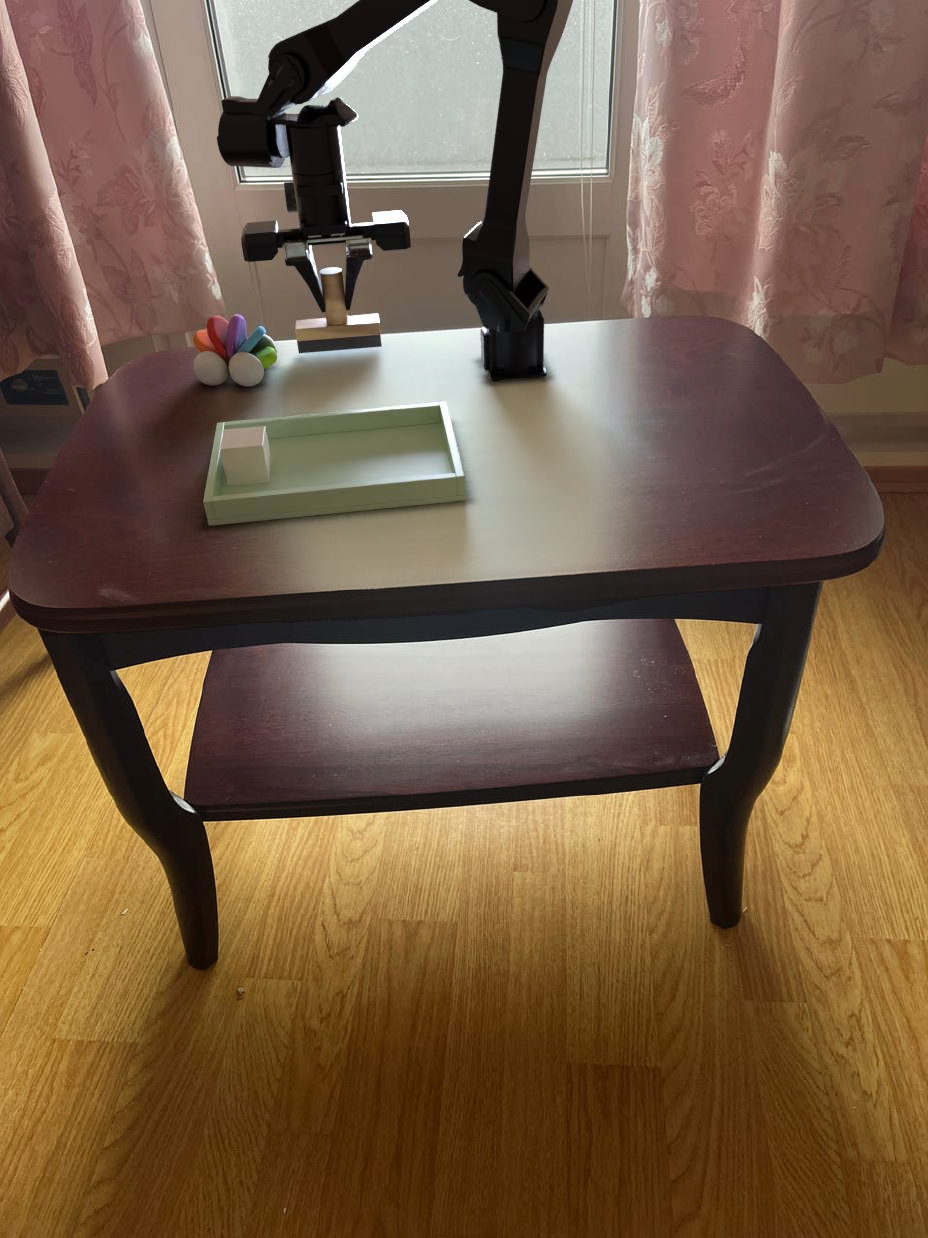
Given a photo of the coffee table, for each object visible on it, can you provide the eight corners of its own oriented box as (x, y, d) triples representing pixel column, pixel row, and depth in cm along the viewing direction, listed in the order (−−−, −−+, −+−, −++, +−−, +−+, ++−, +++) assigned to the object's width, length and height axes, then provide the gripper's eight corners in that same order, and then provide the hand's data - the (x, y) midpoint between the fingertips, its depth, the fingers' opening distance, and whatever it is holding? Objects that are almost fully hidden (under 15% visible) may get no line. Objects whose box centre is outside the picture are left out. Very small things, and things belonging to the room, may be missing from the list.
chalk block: (272, 462, 94) (265, 425, 91) (269, 482, 91) (262, 445, 88) (231, 465, 94) (223, 429, 91) (227, 486, 91) (219, 449, 88)
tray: (447, 423, 100) (446, 401, 98) (466, 500, 88) (464, 475, 86) (221, 445, 98) (216, 422, 97) (208, 526, 86) (202, 501, 85)
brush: (299, 343, 117) (288, 269, 111) (380, 337, 117) (373, 263, 112) (298, 353, 114) (286, 278, 109) (381, 346, 115) (374, 271, 109)
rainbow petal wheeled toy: (213, 359, 116) (201, 300, 111) (290, 361, 114) (280, 302, 110) (187, 389, 109) (172, 328, 105) (267, 392, 108) (256, 330, 103)
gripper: (398, 145, 110) (408, 280, 120) (236, 157, 109) (260, 293, 119) (405, 169, 102) (416, 312, 111) (229, 182, 100) (255, 326, 110)
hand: (336, 310), depth 113 cm, fingers closed on brush, 2 cm apart
